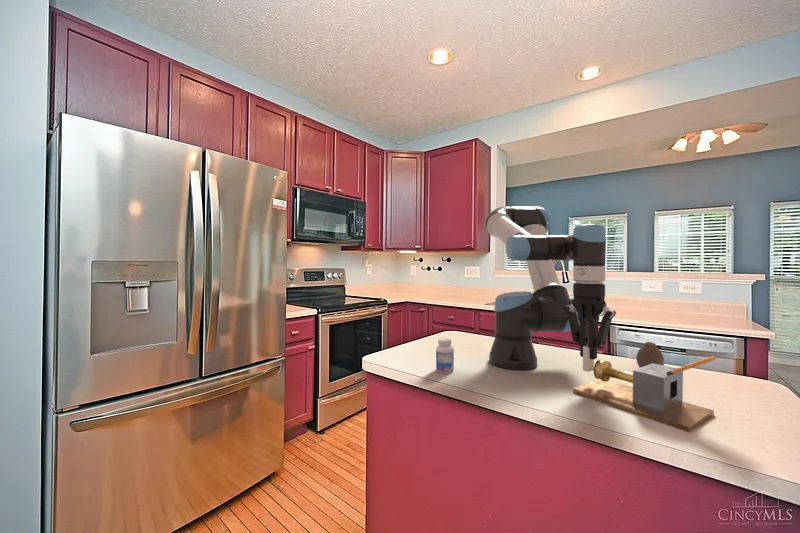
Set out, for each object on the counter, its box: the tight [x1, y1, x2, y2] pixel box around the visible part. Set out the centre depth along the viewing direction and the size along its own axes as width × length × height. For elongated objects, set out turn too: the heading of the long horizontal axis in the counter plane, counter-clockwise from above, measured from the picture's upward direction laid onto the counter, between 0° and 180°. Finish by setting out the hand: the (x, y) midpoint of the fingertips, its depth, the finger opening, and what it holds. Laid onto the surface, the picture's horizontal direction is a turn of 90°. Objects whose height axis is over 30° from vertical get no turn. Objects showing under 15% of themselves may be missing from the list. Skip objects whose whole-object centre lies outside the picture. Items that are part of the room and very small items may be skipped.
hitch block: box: [572, 363, 715, 433], centre depth 82 cm, size 24×14×10 cm, turn 32°
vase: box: [635, 341, 665, 368], centre depth 105 cm, size 7×7×9 cm
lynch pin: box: [593, 359, 633, 385], centre depth 85 cm, size 12×5×5 cm, turn 32°
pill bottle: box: [435, 337, 455, 374], centre depth 106 cm, size 6×5×10 cm
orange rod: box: [672, 355, 717, 374], centre depth 73 cm, size 8×4×1 cm
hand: (588, 370), depth 92 cm, fingers closed
